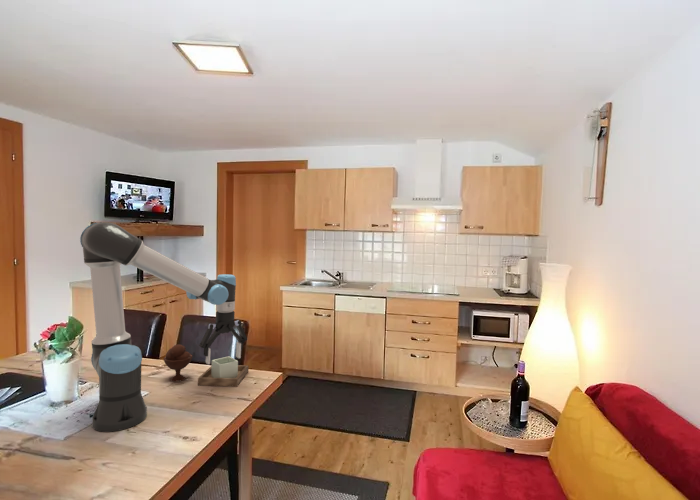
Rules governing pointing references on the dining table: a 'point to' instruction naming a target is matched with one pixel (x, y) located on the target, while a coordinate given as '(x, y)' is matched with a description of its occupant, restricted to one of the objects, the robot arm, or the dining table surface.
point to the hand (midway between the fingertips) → (223, 360)
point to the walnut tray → (231, 382)
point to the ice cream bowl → (177, 360)
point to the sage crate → (224, 368)
